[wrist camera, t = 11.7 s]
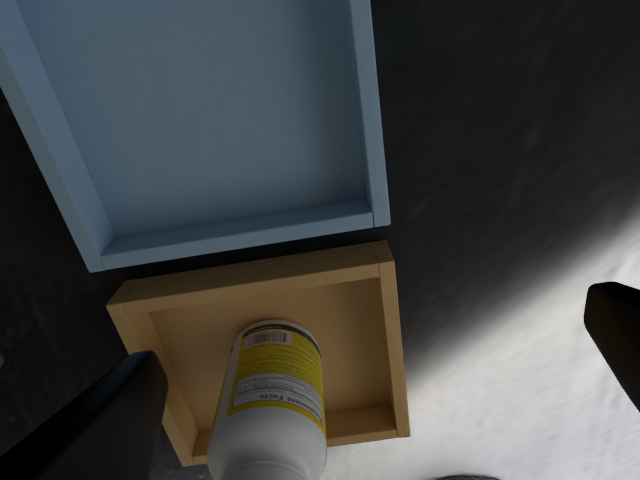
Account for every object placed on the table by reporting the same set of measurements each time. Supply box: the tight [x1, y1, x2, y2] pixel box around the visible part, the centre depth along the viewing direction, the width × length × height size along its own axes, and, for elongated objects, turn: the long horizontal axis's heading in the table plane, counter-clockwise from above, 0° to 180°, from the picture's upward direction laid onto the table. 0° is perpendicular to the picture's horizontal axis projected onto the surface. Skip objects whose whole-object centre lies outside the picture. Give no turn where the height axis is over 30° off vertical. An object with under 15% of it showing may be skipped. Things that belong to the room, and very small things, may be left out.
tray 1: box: [0, 0, 391, 273], centre depth 17 cm, size 15×13×2 cm
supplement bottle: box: [207, 319, 327, 480], centre depth 20 cm, size 5×5×10 cm
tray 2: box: [106, 240, 410, 467], centre depth 23 cm, size 15×13×2 cm
